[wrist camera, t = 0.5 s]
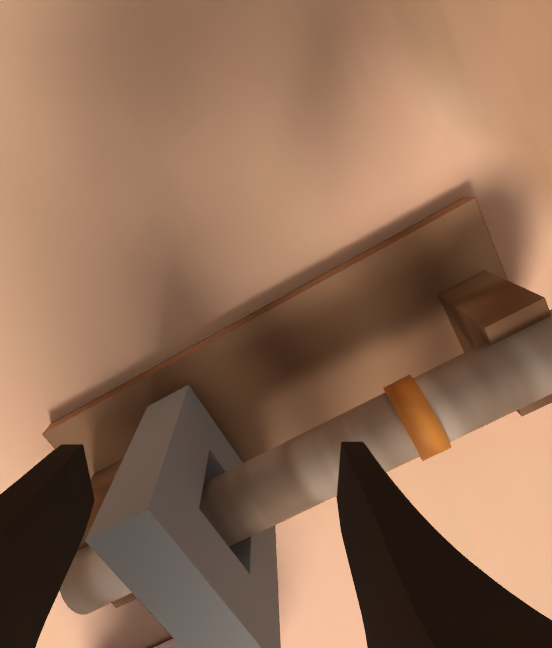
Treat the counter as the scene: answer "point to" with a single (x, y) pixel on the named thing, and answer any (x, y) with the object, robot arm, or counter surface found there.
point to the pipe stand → (335, 381)
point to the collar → (186, 534)
